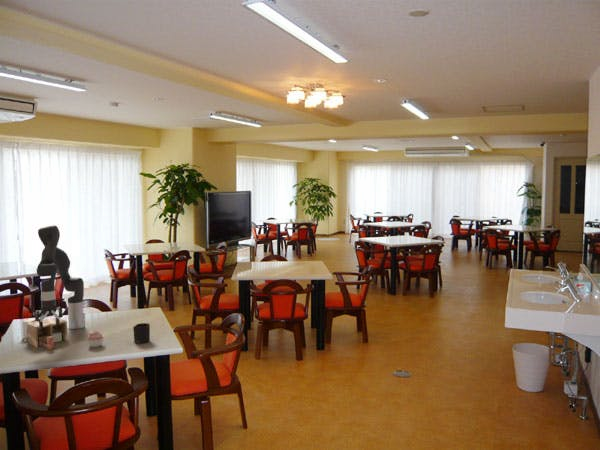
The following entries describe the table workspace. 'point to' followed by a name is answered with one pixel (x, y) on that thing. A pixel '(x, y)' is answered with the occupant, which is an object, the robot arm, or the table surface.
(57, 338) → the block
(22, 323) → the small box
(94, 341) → the cupcake
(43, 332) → the oak shelf
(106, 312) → the table surface
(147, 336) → the pen holder
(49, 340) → the tethered block
